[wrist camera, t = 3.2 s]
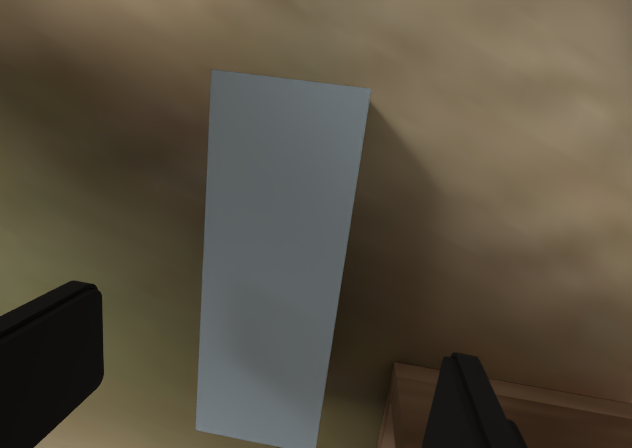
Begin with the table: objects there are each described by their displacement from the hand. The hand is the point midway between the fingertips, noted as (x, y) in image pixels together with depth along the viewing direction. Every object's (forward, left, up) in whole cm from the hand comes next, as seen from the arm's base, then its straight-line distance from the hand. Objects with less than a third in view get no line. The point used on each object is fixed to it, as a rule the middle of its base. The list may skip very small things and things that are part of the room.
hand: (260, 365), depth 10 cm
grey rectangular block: (0, -1, -10) cm, 10 cm away
